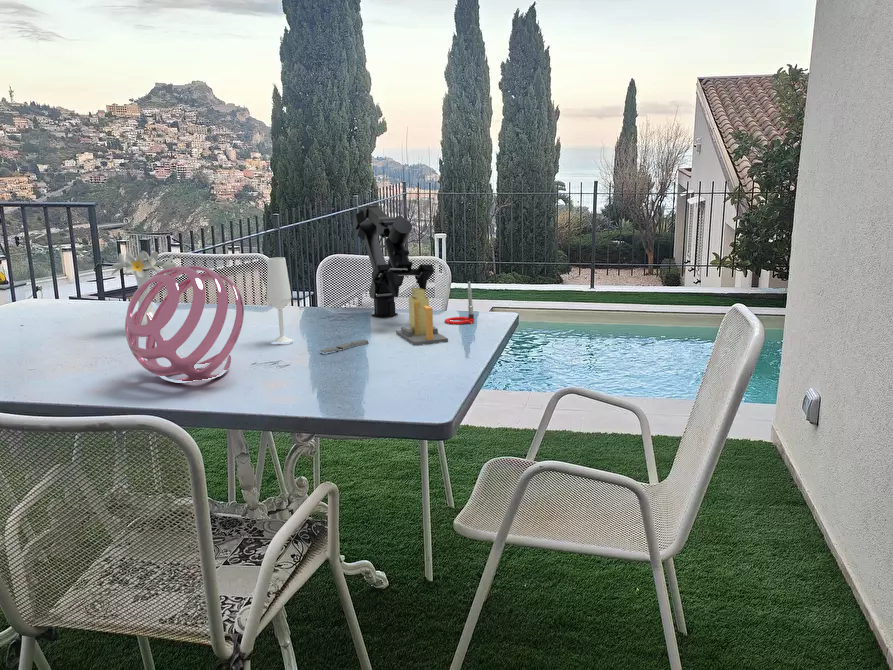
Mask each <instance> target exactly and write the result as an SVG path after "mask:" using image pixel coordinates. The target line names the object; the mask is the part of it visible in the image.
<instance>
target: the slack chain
mask: <svg viewBox="0 0 893 670" xmlns="http://www.w3.org/2000/svg"><path fill="white" fill-rule="evenodd" d="M352 345H353V346H352ZM364 345H369V340H368V339H365V338H364V339H359V340H353V341H350V343H348V342H344V343H341V344H339V345H337V346H336V347H335V346H332V347H329V348H324V349H320V350H319V352H320V351H321V352H324V353H326V352H332V351H340V350H339V349H342V350H343V349H346V348H348V349H350V348H349V347H351V348H353V347H355V346H356V347H360V346H364ZM346 350H347V349H346ZM343 351H344V350H343Z"/></svg>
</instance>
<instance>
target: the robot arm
mask: <svg viewBox="0 0 893 670" xmlns="http://www.w3.org/2000/svg"><path fill="white" fill-rule="evenodd" d="M352 228H353V230H355V234H356V236H357V237H358V238H359V239H361V240H362V241H363V242H364V245H365V249H366V252H367V255H368V258H369V261H370V264H371V268H372V272H371V279H372V280H371V284H370V287H369V289H368V293H369V297H370V299H372V300H373V305H374V306H373V309H374V310H373V311H374V313H371V315H370V316H371V317H378V318H384V319H385V317H387V318H390V317H393V316H392V315H394V316H396V315H395V314H399V313H398V312H396V302H395V298H398V297H399V293H400V287H401V286H402V285H403V283H404V280H405V277H406V276H407V277H408V276H409V277H410V276H414V278H415V280H416V281H415V282H416V284H418V288H422V289H424V290H425V292H427V291H426V290H427V285H428V283H427V282H428V281H429V280H430V278H431V277H432V275H433V274H434V272H435V268H434V266H433V265H432V264H430V263H429V264H428V263H422V264H421V263H420V264H419V266H418V268H412V267H413V265H414V264H413V261H410V257H409V255H410V251H409V250H407V249H406V245H405V244H406V243H407V241H408V240H409V236H410V235H411V232H412V230H413V224H412V223H411V222H410V220H408V219H406V218H404V216H403V215H396V216H389V215H388V214H386V213H385V212H384V211H383V210H382V209H381V207H380V206H379V205H377V204H376V205H365V206H363V208H362V210H360V211H359V212H356V213H355V215H354V218H353V220H352ZM378 236H379V237H380V238H386V239H385V241H384V250H386V252H387V256H388V260H387V262H386V259H385V256H384V253H383V251H382V246H381V244H380V241H379V237H378ZM389 316H390V317H389Z"/></svg>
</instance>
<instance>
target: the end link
mask: <svg viewBox="0 0 893 670" xmlns="http://www.w3.org/2000/svg"><path fill="white" fill-rule="evenodd" d="M423 306H429V307H430V298H429V297H427V296H426V291H425V290H424V289H422V288H419V287H412V288H411V296H408V319H409V320H408V321H409V329H410V331H412V334H413V335H414V336H418V335H426V329H425V311H424V310H423Z"/></svg>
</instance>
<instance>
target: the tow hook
mask: <svg viewBox="0 0 893 670" xmlns="http://www.w3.org/2000/svg"><path fill="white" fill-rule="evenodd" d="M471 285H472V284H471V281H467V300H468V307H467V309H468V316H453V317H448V318H445V319H444V323H445V322H446V323H449V324H448V325H453V324H456V325H464V324H470V325H472V324H471V323H473V324H474V321H475V315H474V306H473V293H472V291H473V290H472V286H471ZM450 320H453V321H450ZM446 323H445V324H446Z"/></svg>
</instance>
